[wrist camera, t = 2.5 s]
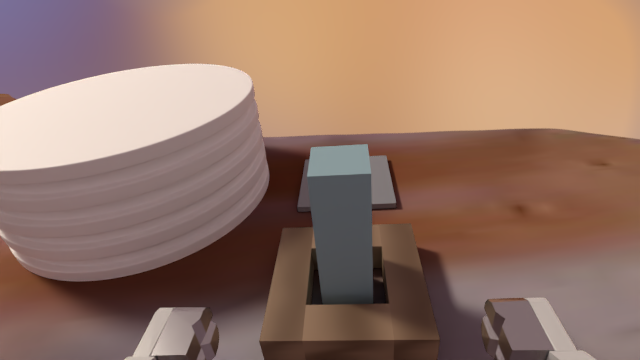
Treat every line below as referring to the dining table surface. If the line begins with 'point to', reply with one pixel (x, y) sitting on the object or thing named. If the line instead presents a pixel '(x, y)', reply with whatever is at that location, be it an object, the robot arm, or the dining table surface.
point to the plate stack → (129, 169)
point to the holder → (350, 305)
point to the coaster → (379, 185)
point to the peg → (342, 222)
